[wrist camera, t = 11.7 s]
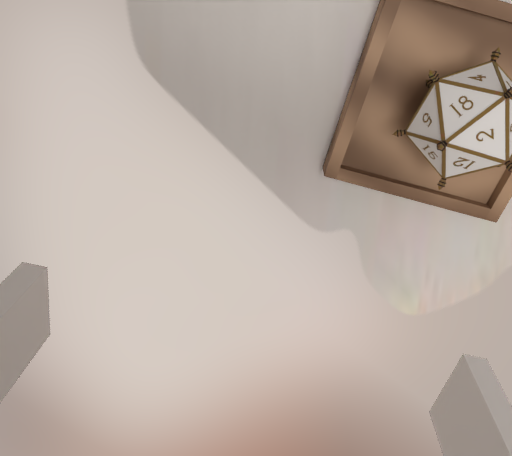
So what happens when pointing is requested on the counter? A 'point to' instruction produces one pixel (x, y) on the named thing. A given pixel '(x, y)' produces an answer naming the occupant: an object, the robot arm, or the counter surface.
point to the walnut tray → (418, 101)
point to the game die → (465, 121)
